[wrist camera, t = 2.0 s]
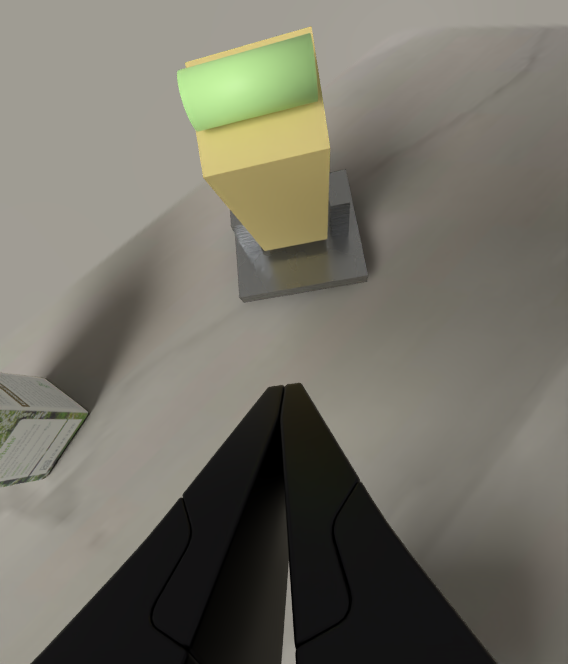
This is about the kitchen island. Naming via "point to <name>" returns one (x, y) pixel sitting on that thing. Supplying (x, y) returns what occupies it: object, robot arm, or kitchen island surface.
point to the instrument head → (264, 136)
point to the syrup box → (33, 427)
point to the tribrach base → (304, 254)
